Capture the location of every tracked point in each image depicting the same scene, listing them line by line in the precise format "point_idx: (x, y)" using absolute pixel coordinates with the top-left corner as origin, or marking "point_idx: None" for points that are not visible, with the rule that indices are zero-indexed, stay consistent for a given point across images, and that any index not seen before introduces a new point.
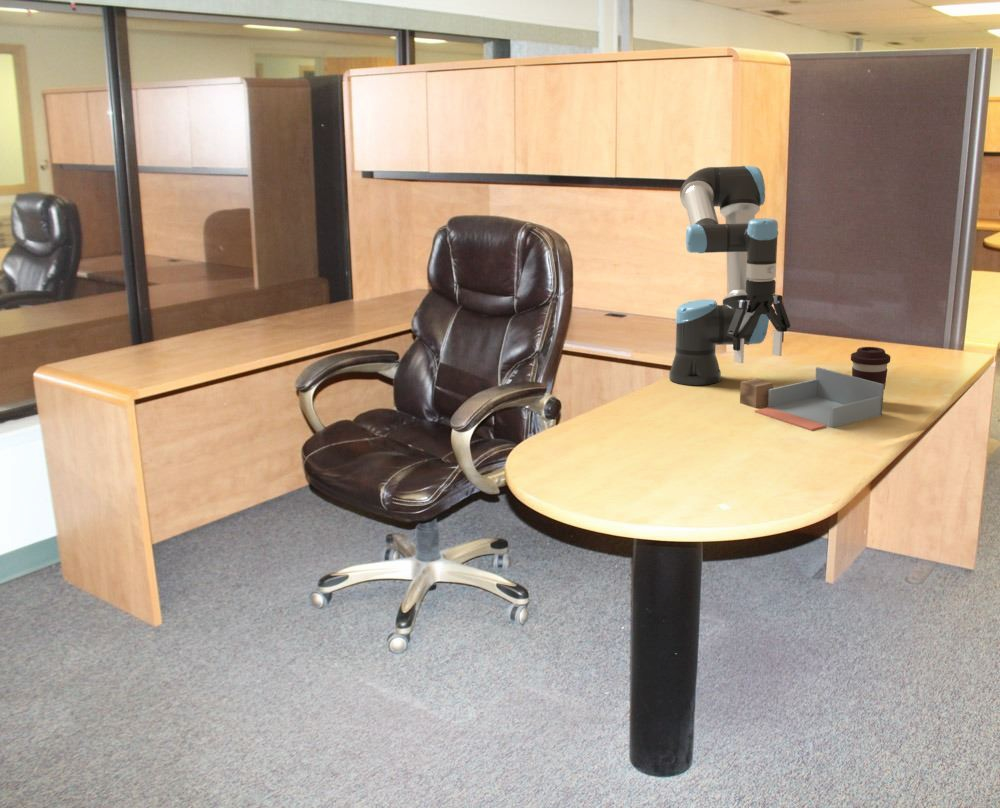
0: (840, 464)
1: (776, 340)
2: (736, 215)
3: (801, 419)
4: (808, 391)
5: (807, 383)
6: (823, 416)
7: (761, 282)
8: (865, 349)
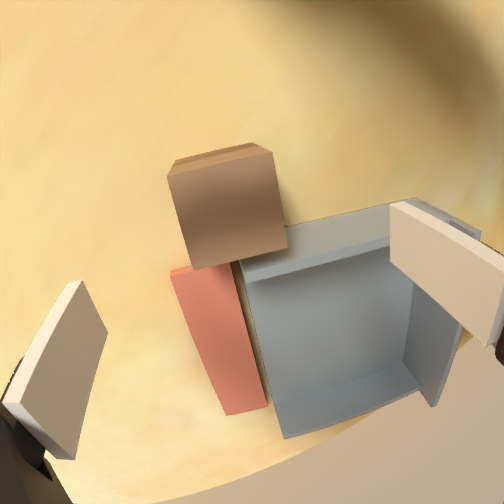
0: (192, 476)
1: (448, 277)
2: None
3: (245, 372)
4: None
5: None
6: (310, 357)
7: None
8: None
